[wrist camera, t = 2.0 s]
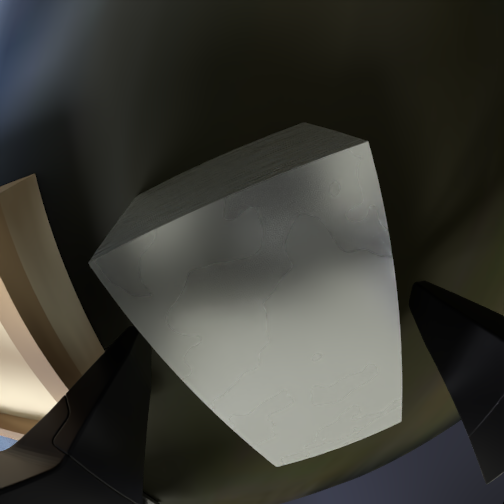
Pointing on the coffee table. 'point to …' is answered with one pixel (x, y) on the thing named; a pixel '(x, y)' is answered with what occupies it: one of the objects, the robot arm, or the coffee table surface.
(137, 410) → the robot arm
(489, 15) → the coffee table surface
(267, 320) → the block
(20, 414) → the beech stand
